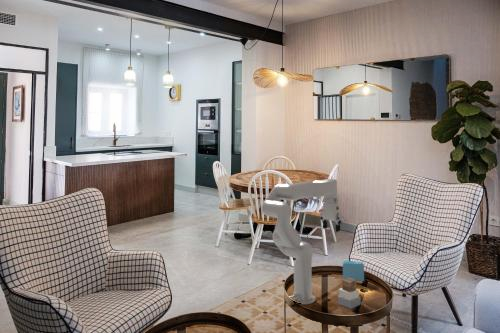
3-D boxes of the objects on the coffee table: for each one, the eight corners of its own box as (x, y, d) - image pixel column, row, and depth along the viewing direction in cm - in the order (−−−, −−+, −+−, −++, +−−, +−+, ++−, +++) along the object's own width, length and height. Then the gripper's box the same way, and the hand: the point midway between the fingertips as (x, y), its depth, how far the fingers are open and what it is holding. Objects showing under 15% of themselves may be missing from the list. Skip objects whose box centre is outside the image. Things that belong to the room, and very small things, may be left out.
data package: (363, 281, 224) (363, 261, 223) (364, 284, 219) (363, 264, 218) (343, 280, 227) (342, 260, 226) (343, 282, 222) (342, 263, 222)
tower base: (350, 309, 188) (350, 301, 188) (338, 304, 194) (338, 296, 194) (360, 304, 193) (360, 297, 192) (348, 300, 199) (347, 292, 199)
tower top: (349, 300, 189) (349, 293, 188) (339, 296, 194) (338, 289, 194) (358, 297, 192) (358, 289, 192) (348, 293, 198) (348, 285, 198)
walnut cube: (349, 292, 189) (349, 282, 189) (342, 289, 193) (342, 279, 193) (356, 289, 192) (356, 280, 192) (348, 286, 196) (348, 277, 196)
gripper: (347, 201, 210) (347, 231, 211) (323, 198, 224) (324, 226, 225) (338, 202, 205) (339, 233, 206) (315, 199, 219) (315, 228, 220)
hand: (331, 229), depth 216 cm, fingers open, 9 cm apart
